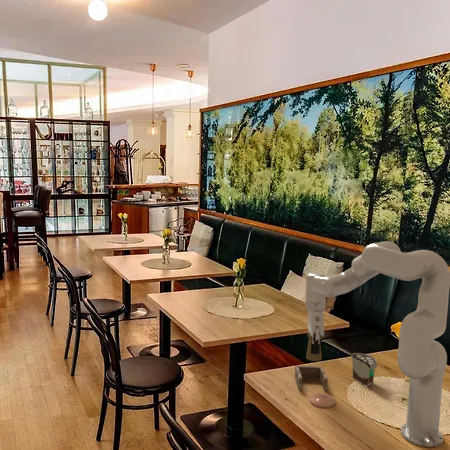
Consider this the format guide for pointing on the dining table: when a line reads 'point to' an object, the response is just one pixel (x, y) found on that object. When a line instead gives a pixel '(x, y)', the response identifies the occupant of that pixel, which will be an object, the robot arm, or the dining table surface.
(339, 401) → the dining table surface
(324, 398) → the terracotta coaster
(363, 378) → the food container
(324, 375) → the walnut shelf bay
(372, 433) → the dining table surface
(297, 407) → the dining table surface
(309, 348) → the olive peg doll
